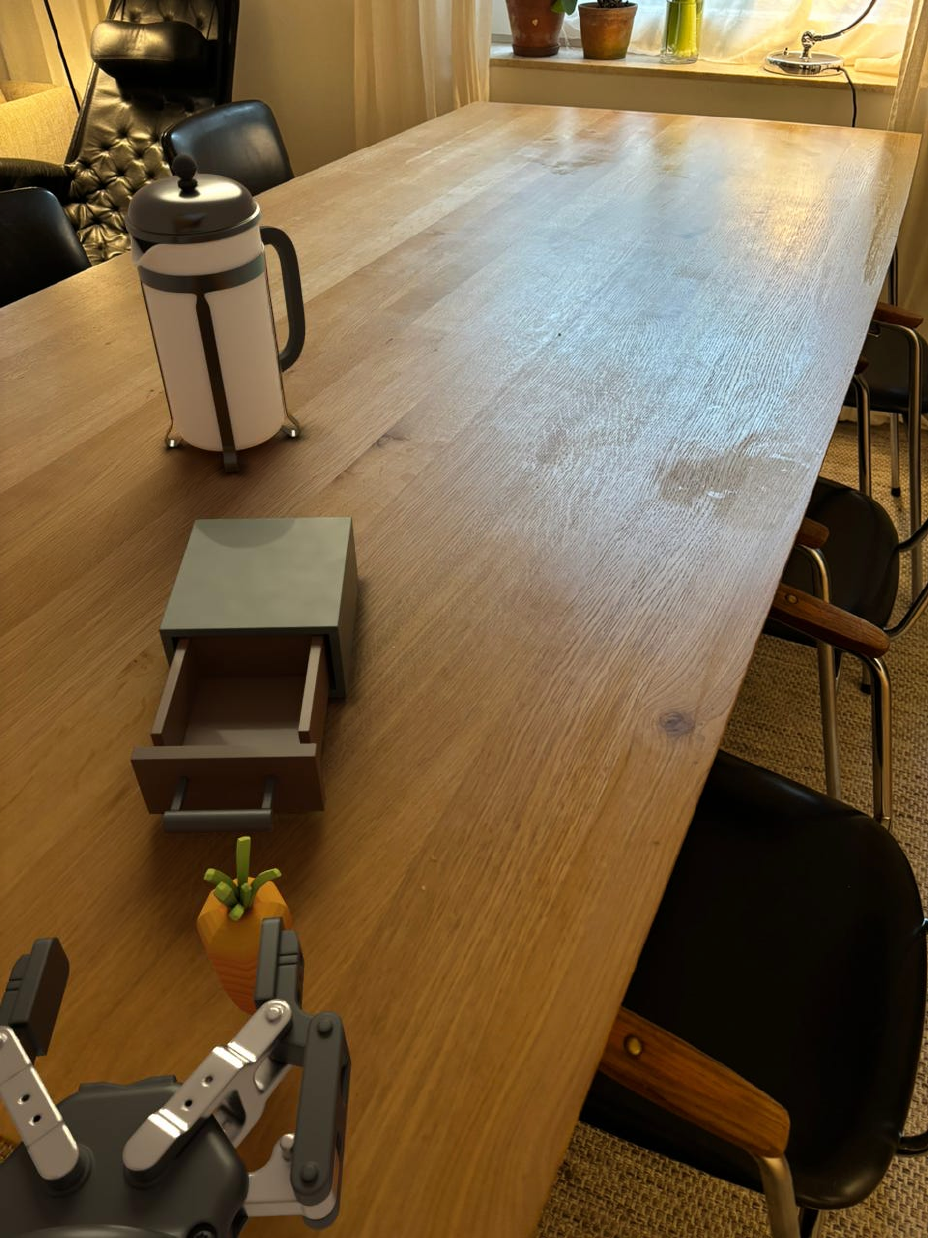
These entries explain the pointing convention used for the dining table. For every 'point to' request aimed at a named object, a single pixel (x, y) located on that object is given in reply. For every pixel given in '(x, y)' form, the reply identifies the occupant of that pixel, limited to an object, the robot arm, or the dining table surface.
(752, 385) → the dining table surface
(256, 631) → the cabinet
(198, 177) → the coffee press
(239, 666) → the drawer
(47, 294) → the dining table surface
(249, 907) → the carrot
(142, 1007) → the dining table surface
